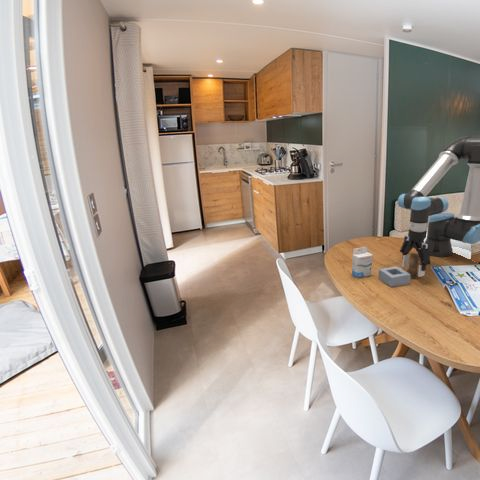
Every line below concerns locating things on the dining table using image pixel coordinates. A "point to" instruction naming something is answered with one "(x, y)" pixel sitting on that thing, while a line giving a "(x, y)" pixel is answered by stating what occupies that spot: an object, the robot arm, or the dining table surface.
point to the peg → (413, 265)
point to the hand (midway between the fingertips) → (412, 271)
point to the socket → (394, 276)
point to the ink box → (361, 262)
